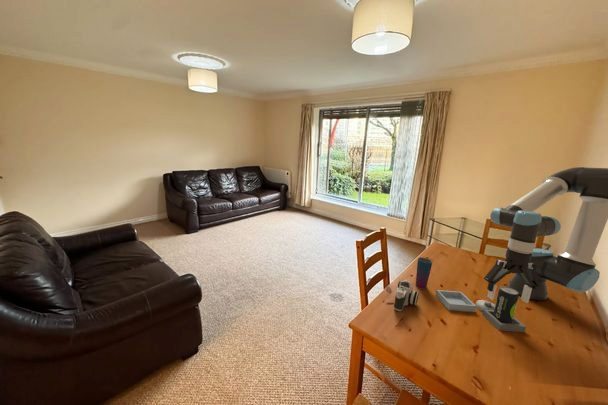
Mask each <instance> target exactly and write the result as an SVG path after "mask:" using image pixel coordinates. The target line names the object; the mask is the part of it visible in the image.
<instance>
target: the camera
mask: <svg viewBox="0 0 608 405" xmlns="http://www.w3.org/2000/svg"><path fill="white" fill-rule="evenodd" d="M413 288H414V285H413V284H412V283H411V282H410V281H408V280H407V279H404V280H402V281H398V283H397V287H396V290H395V291H396V292H395V297H394V304H393V309H395V311H398V312H402V311H403V309H404V308H405V306H408V305H409V304H410V305H413V306H417V303H418V299H419V295H420V294H419V292H418V291H415V290H413Z"/></svg>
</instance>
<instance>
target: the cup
mask: <svg viewBox="0 0 608 405" xmlns="http://www.w3.org/2000/svg"><path fill="white" fill-rule="evenodd" d="M432 266H433V260H432V259H430V258H427V257H424V256H423V257H421V256H420V257H417V265H416V273H415V274H416V275H415V276H416V277H415V286H416V287H417V288H418V289H420V290H425V289H427V285H428V282H429V277H430V274H431V272H432V271H431V270H432Z"/></svg>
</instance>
